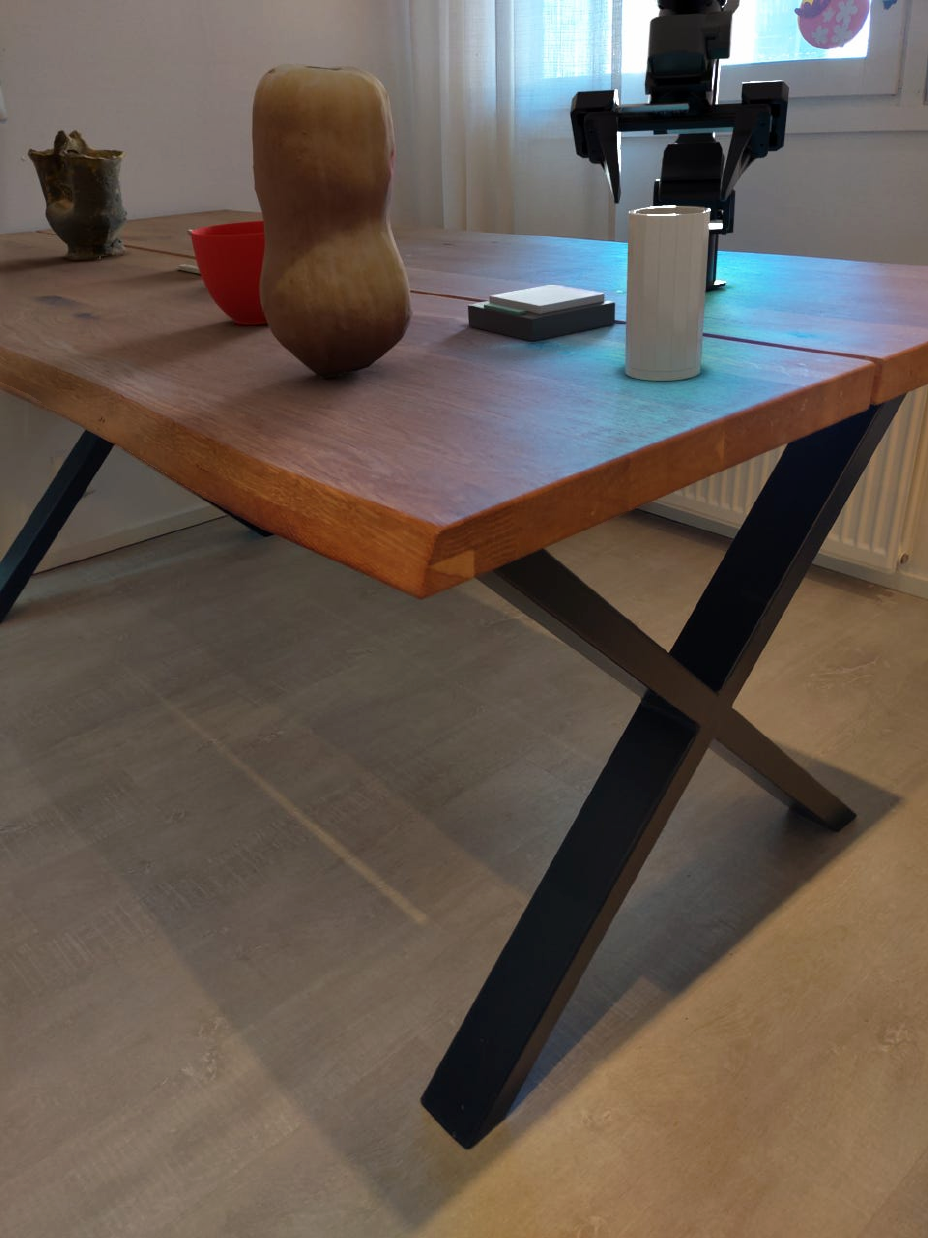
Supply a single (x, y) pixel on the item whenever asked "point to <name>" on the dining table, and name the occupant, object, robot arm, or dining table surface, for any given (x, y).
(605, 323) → the scale
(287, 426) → the dining table surface
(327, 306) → the butternut squash
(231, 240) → the ceramic cup
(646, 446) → the dining table surface
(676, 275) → the tumbler
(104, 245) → the pottery vessel
